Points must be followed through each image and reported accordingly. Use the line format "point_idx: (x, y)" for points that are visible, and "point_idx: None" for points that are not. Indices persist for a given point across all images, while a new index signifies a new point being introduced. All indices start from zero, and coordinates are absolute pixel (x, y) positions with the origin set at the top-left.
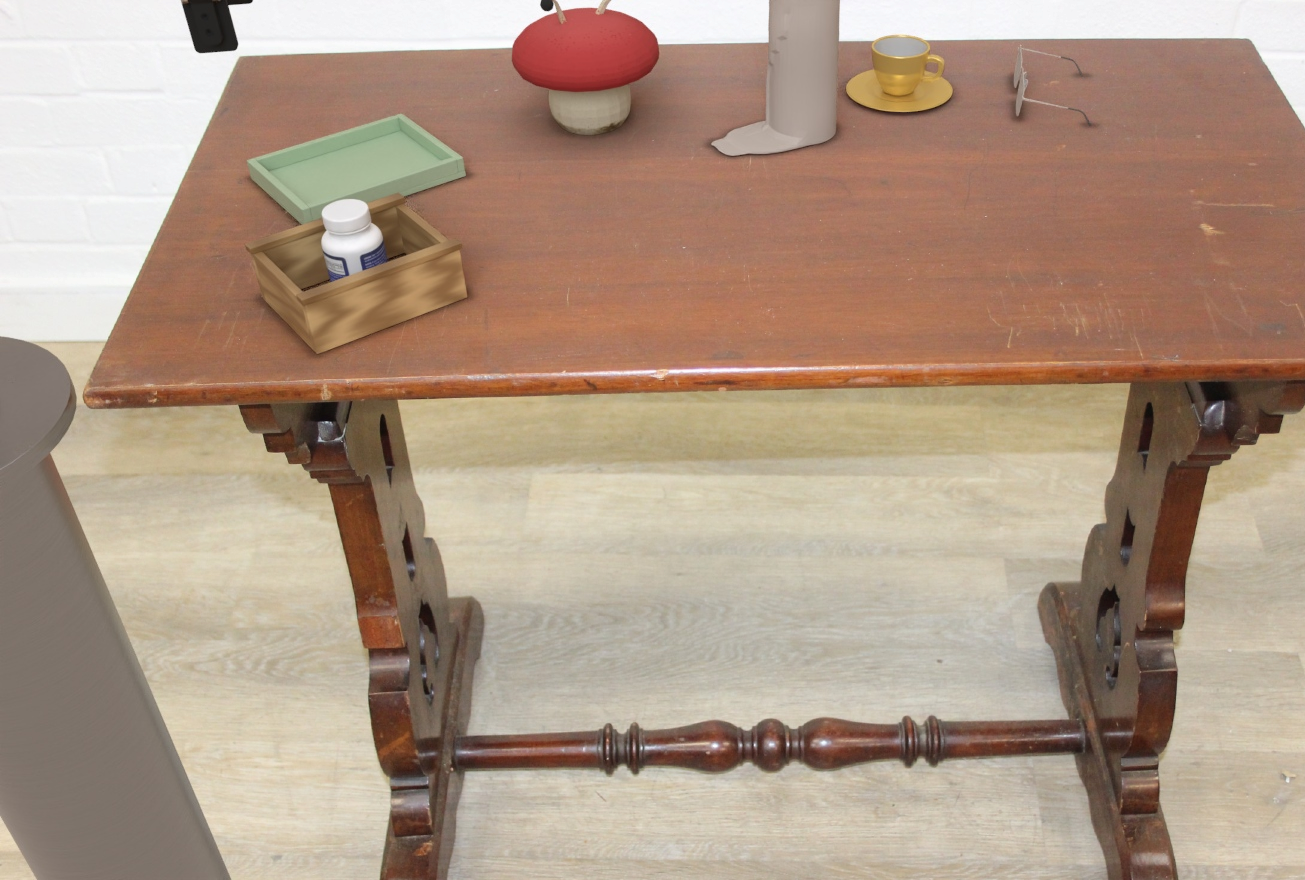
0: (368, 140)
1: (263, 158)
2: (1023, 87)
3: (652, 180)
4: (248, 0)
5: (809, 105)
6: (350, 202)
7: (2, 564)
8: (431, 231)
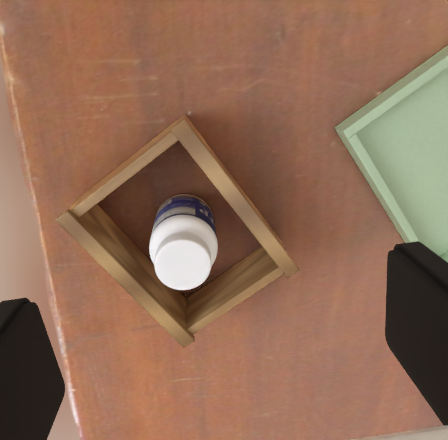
0: None
1: None
2: None
3: (376, 414)
4: (389, 339)
5: None
6: (200, 268)
7: None
8: (220, 310)
